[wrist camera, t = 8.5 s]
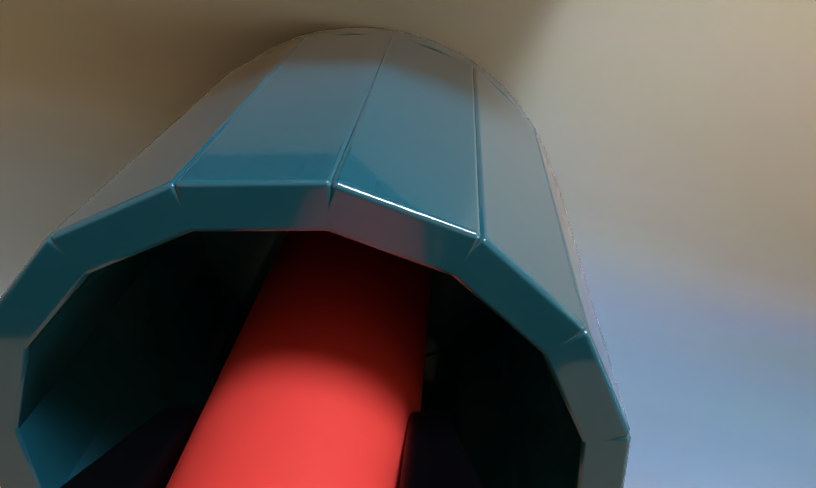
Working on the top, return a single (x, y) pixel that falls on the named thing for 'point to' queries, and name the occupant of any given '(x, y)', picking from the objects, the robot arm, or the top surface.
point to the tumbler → (339, 214)
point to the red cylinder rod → (317, 374)
